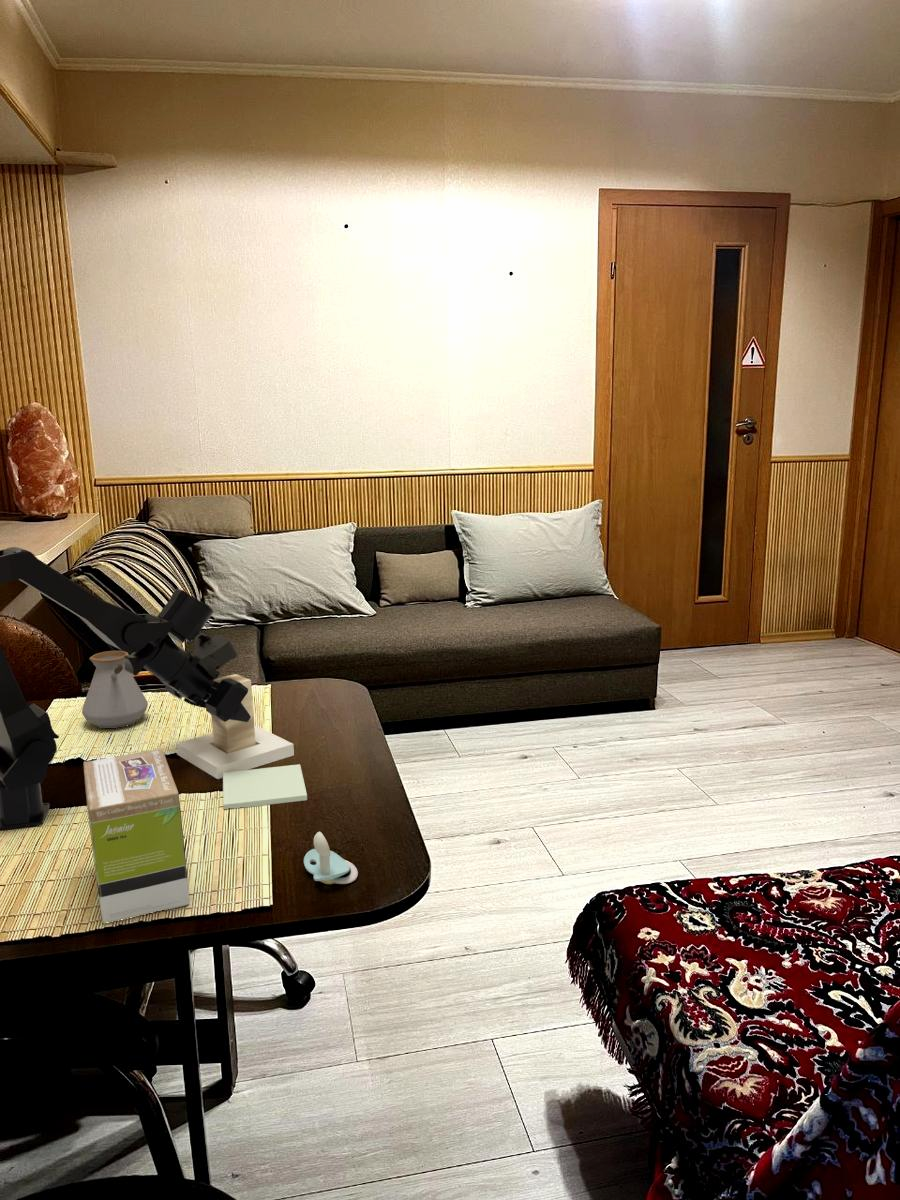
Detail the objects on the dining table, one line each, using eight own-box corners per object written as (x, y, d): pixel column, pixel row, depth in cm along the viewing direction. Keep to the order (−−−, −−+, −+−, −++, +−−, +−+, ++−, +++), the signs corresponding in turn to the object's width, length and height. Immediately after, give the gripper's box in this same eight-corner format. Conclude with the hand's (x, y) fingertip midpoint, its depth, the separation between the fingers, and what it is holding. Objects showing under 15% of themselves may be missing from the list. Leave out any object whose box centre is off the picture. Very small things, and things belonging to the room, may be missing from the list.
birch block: (256, 754, 153) (251, 680, 150) (229, 763, 149) (223, 686, 147) (241, 747, 156) (235, 673, 154) (214, 754, 153) (208, 680, 150)
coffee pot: (80, 717, 172) (72, 640, 169) (144, 707, 177) (137, 632, 174) (92, 756, 153) (83, 670, 150) (163, 743, 158) (155, 660, 155)
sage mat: (307, 800, 135) (306, 795, 135) (223, 809, 132) (223, 804, 132) (300, 768, 147) (300, 764, 146) (223, 777, 144) (222, 772, 144)
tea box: (93, 867, 117) (81, 758, 114) (174, 850, 121) (165, 745, 118) (101, 927, 103) (87, 806, 100) (192, 906, 107) (181, 789, 104)
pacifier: (344, 859, 118) (299, 869, 116) (343, 814, 117) (298, 823, 114) (366, 884, 112) (320, 896, 109) (366, 837, 111) (319, 847, 108)
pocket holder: (294, 755, 152) (293, 744, 152) (217, 779, 143) (216, 767, 143) (251, 733, 162) (250, 722, 162) (177, 754, 153) (176, 743, 153)
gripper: (232, 633, 138) (298, 687, 148) (176, 613, 152) (240, 664, 161) (188, 695, 135) (258, 746, 145) (135, 669, 149) (203, 717, 158)
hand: (240, 715), depth 152 cm, fingers closed on birch block, 5 cm apart
